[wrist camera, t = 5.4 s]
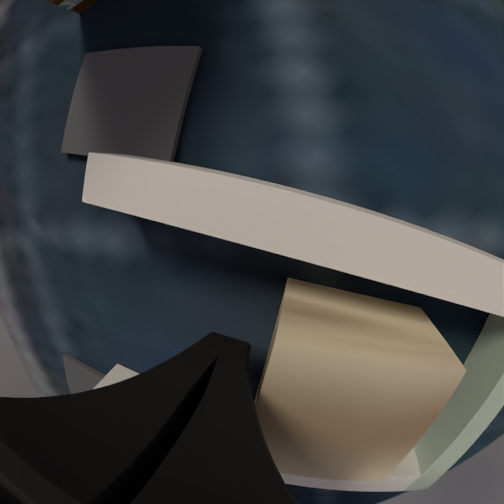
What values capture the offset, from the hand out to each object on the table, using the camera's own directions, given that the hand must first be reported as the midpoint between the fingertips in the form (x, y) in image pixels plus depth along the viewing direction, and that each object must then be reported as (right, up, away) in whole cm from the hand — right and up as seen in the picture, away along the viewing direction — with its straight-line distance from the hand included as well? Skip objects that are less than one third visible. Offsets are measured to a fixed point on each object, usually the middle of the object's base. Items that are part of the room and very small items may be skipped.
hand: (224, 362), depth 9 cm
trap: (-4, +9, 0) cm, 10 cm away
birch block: (+4, 0, +1) cm, 4 cm away
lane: (+3, 0, +2) cm, 3 cm away
